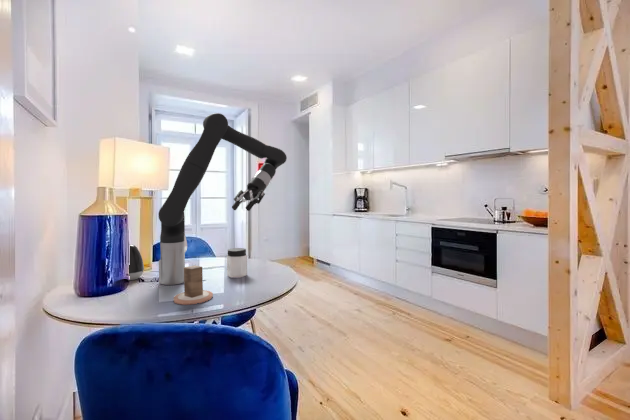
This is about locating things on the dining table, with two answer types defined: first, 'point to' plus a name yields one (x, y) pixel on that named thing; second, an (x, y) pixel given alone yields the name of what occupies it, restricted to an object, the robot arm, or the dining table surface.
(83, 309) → the dining table surface
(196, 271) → the walnut block
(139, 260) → the dark grey tapered dome
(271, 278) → the dining table surface
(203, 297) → the terracotta dish
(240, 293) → the dining table surface
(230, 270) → the jar
